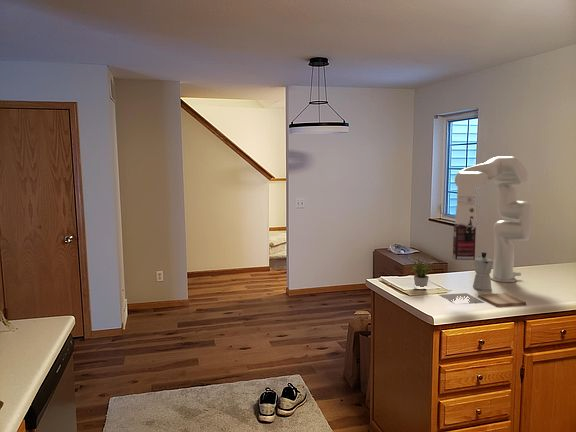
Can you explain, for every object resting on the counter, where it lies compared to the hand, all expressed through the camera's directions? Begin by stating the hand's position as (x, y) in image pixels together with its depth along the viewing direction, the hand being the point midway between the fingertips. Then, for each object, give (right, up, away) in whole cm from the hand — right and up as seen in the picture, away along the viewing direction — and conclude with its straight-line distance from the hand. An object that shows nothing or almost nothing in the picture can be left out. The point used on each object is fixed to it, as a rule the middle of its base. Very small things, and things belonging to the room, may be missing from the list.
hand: (464, 239), depth 196 cm
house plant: (-15, -25, +20) cm, 35 cm away
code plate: (0, -27, +3) cm, 27 cm away
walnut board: (+17, -27, 0) cm, 32 cm away
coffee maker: (+17, -25, +21) cm, 37 cm away
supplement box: (0, -10, +1) cm, 10 cm away
